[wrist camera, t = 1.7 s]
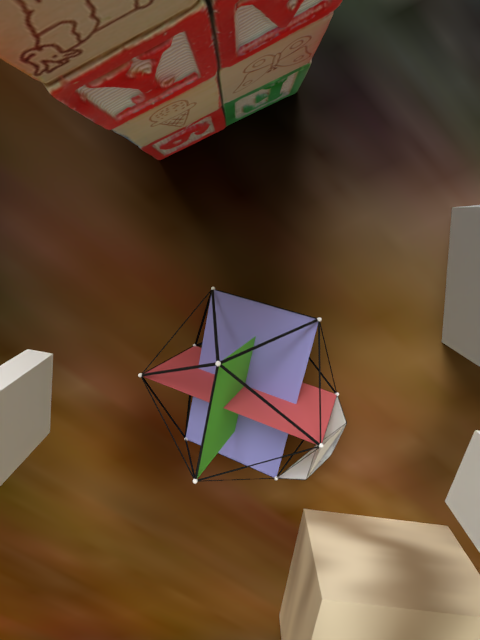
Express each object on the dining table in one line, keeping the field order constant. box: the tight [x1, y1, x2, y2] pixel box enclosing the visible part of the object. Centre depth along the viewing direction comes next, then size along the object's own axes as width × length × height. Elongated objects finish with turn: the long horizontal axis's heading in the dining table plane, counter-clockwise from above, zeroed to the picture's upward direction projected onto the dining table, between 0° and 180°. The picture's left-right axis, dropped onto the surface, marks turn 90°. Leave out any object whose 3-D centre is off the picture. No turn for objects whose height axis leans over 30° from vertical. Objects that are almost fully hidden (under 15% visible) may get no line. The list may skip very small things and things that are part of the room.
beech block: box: [279, 509, 480, 640], centre depth 19 cm, size 8×8×5 cm
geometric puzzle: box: [138, 287, 347, 484], centre depth 14 cm, size 7×7×8 cm
